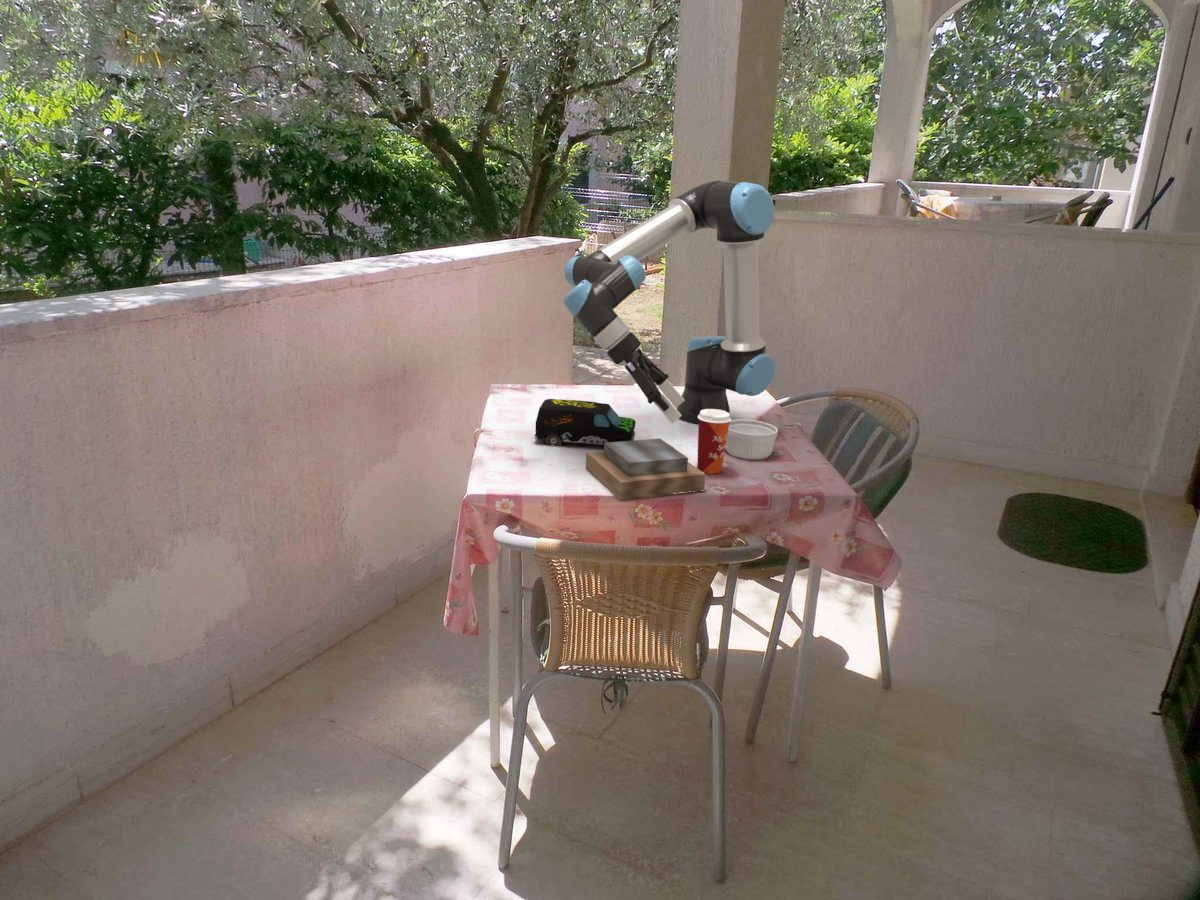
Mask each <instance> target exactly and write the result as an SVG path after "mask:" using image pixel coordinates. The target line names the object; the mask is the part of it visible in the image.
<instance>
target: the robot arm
mask: <svg viewBox="0 0 1200 900" xmlns="http://www.w3.org/2000/svg"><path fill="white" fill-rule="evenodd" d="M667 206H668V207H666V208H664V209H663V210H662V211H659V212H658V213H656V214H655V215H653V216H652V217H649V218H648V219H647V220H645V221H643V222H642V223H640V224H638V225H636V226H634V227H633V228H632V229H630V230H628V231H626V232H625V233H623V234H621V235H620V236H618V237H617V238H614V239H613V240H612V241H610V242H608V243H607V244H606V245H604V246H602V247H600V248H598V249H597V250H595V251H594V252H592V253H590V254H588V255H586V256H584V255H579V256H573V257H572V258H569V260H568V261H567V262H566V264H565V267H564V278H565V281H566V282H567V283H568V284H569V285H570V286H571V287H573V288H572V289H571V290H570V291H569V292H568V293H567V294H566V295H565V296H564V297H563V304H564V305H565V307H566V308H567V310H568V312H570V314H571V315H572V317H573V318H575V319H576V320H577V322H578V323H579V324H580V325H581V326H582V327H583V328H584V329H585V330H586V331H587V333H588V334H589V335H590V336H591V337H592V339H594V344H595V345H596V346H598V345H599V347H600V348H601V349H602V350H603V351H607V352H606V354H607V356H608V357H609V358H610V360H612V362H613V363H614V364H615V365H619V364H621V363H622V362H625V363H626V365H625V366H624V369H625V370H626V371H627V372H628V374H630V376H631V377H632V379H633V380H634V381H635V383H636V384H637V386H638V387H639V389H640V390H641V392H642V393H643V394H644V396H645V397H646V399H647V403H648V404H650V405H651V404H652V403H654V405H655V406H656V407H657V408H658V409H659V410H660V412H661V413H662V414H663V415H664V416H665V417H666V419H667V420H668V421H669V422H670V423H671V424H674V423H675V422H676V421H678V420H679V419H680V420H681V421H684V422H688V423H691V424H692V423H694V424H698V425H699V419H698V415H699V414H700V411H701V410H704V409H718V410H723V411H726V412H728V413H729V414H730V415H731V408H730V406H729V401H728V395H727V390H728V391H731V392H735V393H737V394H739V395H746V396H749V397H755V396H758V395H760V394H761V393H763V392H764V391H766V390H767V388H768V387H769V385H770V384H771V383H772V381H773V379H774V376H775V373H776V363H775V359H774V358H772V356H771V355H769V354H768V353H766V349H767V348H766V340H764V339H763V338H761V336H760V298H759V297H760V287H759V284H760V283H759V279H760V278H759V244H760V243H761V242H762V241H763V240H764V239H765V232H766V231H767V230H769V228H770V227H771V226H772V224H771V222H773V220H774V214H775V206H774V201H773V197H772V196H771V193H770V192H769V191H768V190H767V189H766V188H765V187H764V186H762V185H760V184H757V183H752V182H748V181H725V180H711V181H707V182H704V183H701V184H699V185H697V186H694V187H693V188H691V189H688V190H687V191H685V192H682V193H681V194H680V195H678V196H677V197H675V198H673V199H671V200H670V201H669V202H668V205H667ZM704 229H713V230H716V242H718V243H719V244H720V245H721V246H722V248H723V250H722V251H723V270H724V271H723V274H724V275H723V276H724V277H723V280H724V282H723V283H724V307H725V310H724V311H725V312H724V313H725V336H723V335H722V336H721V335H720V336H719V335H705V336H704V335H703V336H702V335H701V336H695V337H692V338H691V339H690V340H689V342H688V346H687V347H688V348H687V351H686V363H685V379H684V389H683V392H682V394H680V392H679V391H678V390H677V389H676V388H675V387H674V385H673V384H672V383H671V382H670V381H669V380H668V379H669V378H670V376H669V374H668V373H665V372H664V371H662V370H661V369H660V368H659V367H658V366H657V365H656V363H654V362H653V361H652V360H651V359H650V358H649V357H648V356H647V355H646V354H645V353H644V352H643V351H642V350H641V349H640V348H639V347H640V346H641V341H640V340H639V339H638V337H637V336H636V335H635V334H634V332H631V331H630V332H629V330H630V328H629V326H628V325H627V324H626V323H625V322H624V321H623V320H622V318H621V317H620V316H619V315H618V314H617V313H616V311H614V310H615V308H617V307H618V306H619V305H620V304H622V302H623V301H625V300H626V299H627V298H628V297H629V296H630V295H632V294H633V293H634V292H635V291H637V290H638V288H639V287H640V286H641V284H643V283H644V282H645V280H646V276H647V275H646V270H645V269H644V267H643V265H642V263H641V262H640V261H642V260H643V259H644V258H646V257H648V256H649V255H651V254H653V253H655V251H657V250H659V249H660V248H662V247H664V246H665V245H667V244H668V243H670V242H672V241H674V240H676V239H677V238H679V237H680V236H682V235H691V234H692V233H694V232H696V231H698V230H699V231H700V230H704ZM657 385H658V386H657Z"/></svg>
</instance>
